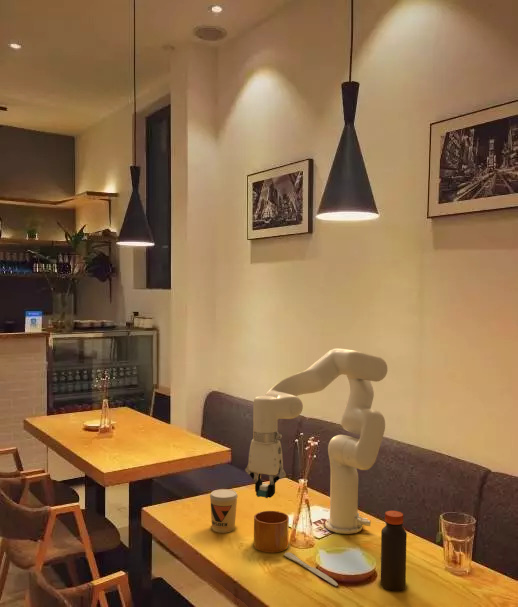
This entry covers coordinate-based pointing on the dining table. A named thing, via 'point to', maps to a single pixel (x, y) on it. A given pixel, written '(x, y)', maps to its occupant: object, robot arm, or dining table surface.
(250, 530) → the dining table surface
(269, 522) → the tumbler
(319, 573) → the butter knife
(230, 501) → the coffee cup
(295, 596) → the dining table surface
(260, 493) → the toy car
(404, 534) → the bottle
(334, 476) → the robot arm
